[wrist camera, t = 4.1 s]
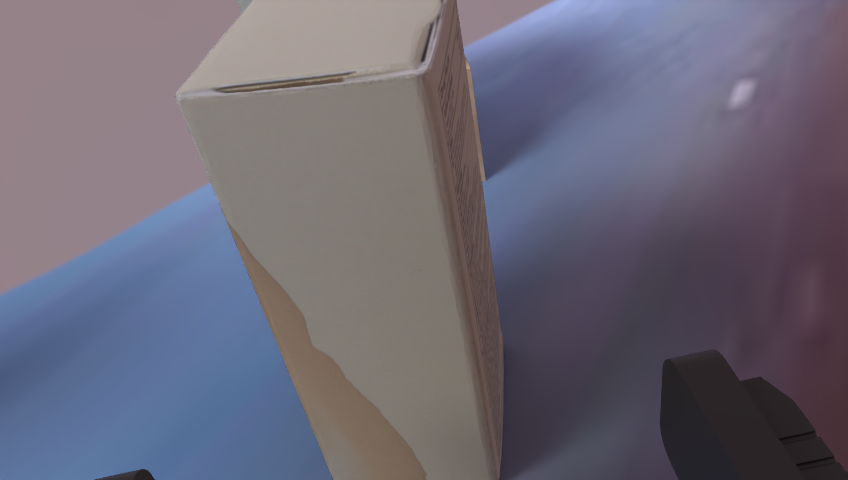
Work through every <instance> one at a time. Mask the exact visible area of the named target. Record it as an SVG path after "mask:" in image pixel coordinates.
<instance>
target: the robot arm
mask: <svg viewBox="0 0 848 480" xmlns="http://www.w3.org/2000/svg"><path fill="white" fill-rule="evenodd" d="M660 428H661V435H662V439H663V443H664V446H665V450H666V453H667V455H668V458H669V460H670V462H671V465H672V467H673V469H674V471H675V473H676V475H677V477H678V479H679V480H848V474H847V473H846V472H845V470H844V469H843V468H842V466H841V465H840V463H836V461H835V459H834V455H833V454H832V453H831V451H830V450H829V448H828V447H827V446H826V444H825V443H824V442H823V440H822V439H821V438H820V437H817V435H816V432H815V429H814V428H813V427H812V425H811V424H810V423H809V421H808V420H807V418H806V417H805V416H804V414H803V413H802V412H801V410H800V409H799V408H798V406H797V405H796V403H795V402H794V401H793V400H792V399H791V398H789V397H788V396H787V395H785V394H784V393H782V392H781V391H779V390H778V389H777V388H775V387H774V386H772V385H771V384H770V383H768V382H767V381H765V380H764V379H763V378H761V377H757V378H752V379H748V380H743V381H739V379H738V378H737V376H736V375H735V373H734V372H733V370H732V369H731V367H730V366H729V364H728V363H727V361H726V360H725V359H724V357H723V356H722V355H721V354H720V353H719V352H718V351H716V350H708V351H703V352H699V353H694V354H689V355H685V356H680V357H675V358H671V359H666V360H665V361H664V364H663V374H662V393H661V413H660ZM95 480H155V479H154V478H153V476H152V475H151V473H150V472H149V471H147V470H145V469H141V470H136V471H131V472H127V473H122V474H117V475H113V476H108V477H103V478H99V479H95Z"/></svg>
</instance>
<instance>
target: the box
mask: <svg viewBox="0 0 848 480" xmlns="http://www.w3.org/2000/svg"><path fill="white" fill-rule="evenodd" d="M175 98H176V101H177V103H178V106H179V108H180V110H181V113H182V115H183V117H184V119H185V122H186V124H187V127H188V129H189V132H190V134H191V136H192V138H193V140H194V142H195V145H196V147H197V149H198V153H199V155H200V158H201V160H202V163H203V165H204V167H205V170H206V172H207V174H208V177H209V179H210V182H211V184H212V187H213V190H214V192H215V195H216V197H217V199H218V201H219V204H220V207H221V209H222V211H223V214H224V216H225V218H226V221H227V224H228V226H229V228H230V231H231V233H232V235H233V238H234V240H235V243H236V245H237V248H238V250H239V253H240V255H241V258H242V260H243V262H244V265H245V267H246V270H247V272H248V275H249V277H250V279H251V282H252V284H253V287H254V289H255V291H256V294H257V296H258V299H259V301H260V304H261V306H262V308H263V311H264V314H265V316H266V318H267V321H268V323H269V325H270V328H271V330H272V333H273V335H274V337H275V340H276V342H277V345H278V347H279V349H280V352H281V355H282V357H283V360H284V362H285V365H286V367H287V370H288V372H289V375H290V377H291V380H292V382H293V384H294V387H295V389H296V392H297V394H298V396H299V399H300V401H301V403H302V406H303V408H304V410H305V413H306V415H307V418H308V420H309V422H310V425H311V427H312V430H313V432H314V434H315V437H316V439H317V441H318V444H319V446H320V448H321V451H322V453H323V456H324V458H325V461H326V464H327V466H328V468H329V471H330V473H331V476H332V478H333V480H499V477H500V466H501V453H502V434H503V381H504V375H503V372H504V363H503V337H502V331H501V324H500V318H499V310H498V301H497V293H496V285H495V278H494V271H493V264H492V257H491V250H490V242H489V233H488V225H487V217H486V210H485V202H484V194H483V187H482V180H481V172H480V165H479V158H478V151H477V144H476V136H475V129H474V122H473V114H472V107H471V99H470V92H469V84H468V77H467V70H466V62H465V56H464V49H463V43H462V36H461V29H460V22H459V15H458V9H457V2H456V0H253V1H252V2H251V4H250V5H249V6H248V7H247V8H246V9H245V11H244V12H243V13H242V14H241V15H240V16H239V18H238V19H237V20H236V21H235V22H234V23H233V25H232V26H231V27H230V28H229V29H228V30H227V32H226V33H225V34H224V35H223V36H222V37H221V39H220V40H219V41H218V42H217V44H216V45H215V46H214V47H213V48H212V50H211V51H210V52H209V53H208V55H207V56H206V57H205V58H204V59H203V61H202V62H201V63H200V64H199V66H198V67H197V68H196V69H195V71H194V72H193V73H192V74H191V75H190V77H189V78H188V79H187V80H186V82H185V83H184V84H183V85H182V86H181V88H180V89H179V90H178V91H177V93H176V95H175Z"/></svg>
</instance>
